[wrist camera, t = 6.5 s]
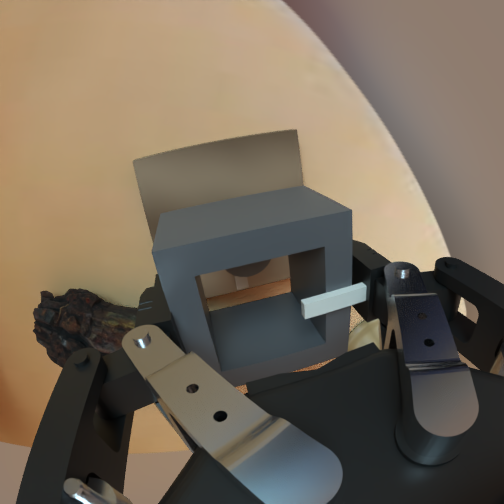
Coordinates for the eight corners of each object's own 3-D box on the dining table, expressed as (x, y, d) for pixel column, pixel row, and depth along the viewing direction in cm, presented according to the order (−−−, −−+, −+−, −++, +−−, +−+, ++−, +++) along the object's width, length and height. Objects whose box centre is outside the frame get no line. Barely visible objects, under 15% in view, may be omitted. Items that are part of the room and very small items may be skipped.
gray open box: (160, 213, 12) (150, 256, 8) (314, 183, 12) (370, 209, 9) (193, 332, 14) (202, 400, 10) (320, 300, 15) (361, 353, 11)
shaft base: (135, 159, 17) (113, 172, 11) (291, 129, 18) (334, 131, 13) (173, 298, 21) (173, 353, 16) (305, 266, 22) (342, 309, 17)
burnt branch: (274, 307, 24) (298, 354, 19) (250, 368, 26) (265, 416, 21) (48, 269, 18) (17, 311, 13) (53, 339, 20) (33, 386, 15)
